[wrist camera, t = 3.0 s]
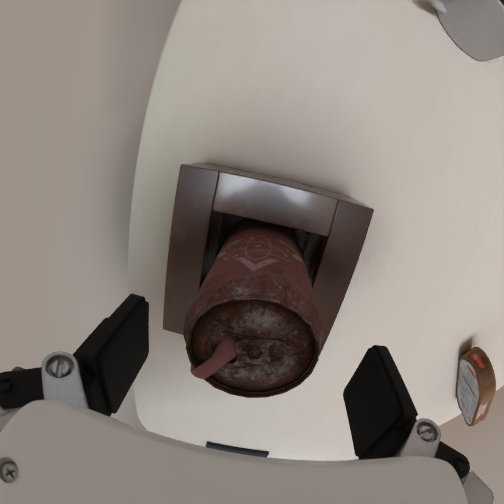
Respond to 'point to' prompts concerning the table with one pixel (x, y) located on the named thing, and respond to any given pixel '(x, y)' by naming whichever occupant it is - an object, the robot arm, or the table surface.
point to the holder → (267, 210)
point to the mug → (474, 25)
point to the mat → (237, 450)
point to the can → (255, 315)
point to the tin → (475, 385)
